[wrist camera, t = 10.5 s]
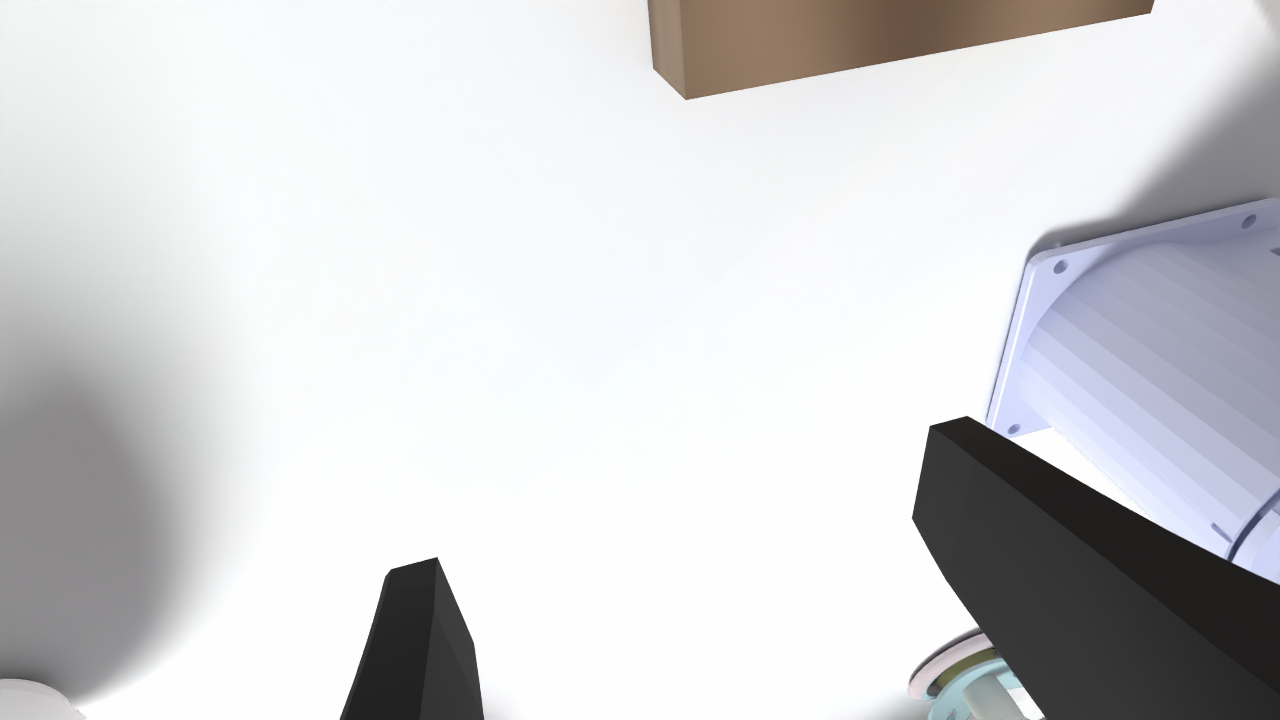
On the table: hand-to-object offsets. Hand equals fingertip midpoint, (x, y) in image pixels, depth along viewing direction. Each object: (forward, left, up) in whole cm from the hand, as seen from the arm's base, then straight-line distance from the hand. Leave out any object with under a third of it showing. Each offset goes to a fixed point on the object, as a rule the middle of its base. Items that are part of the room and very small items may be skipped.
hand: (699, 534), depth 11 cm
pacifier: (-17, +30, -11) cm, 36 cm away
